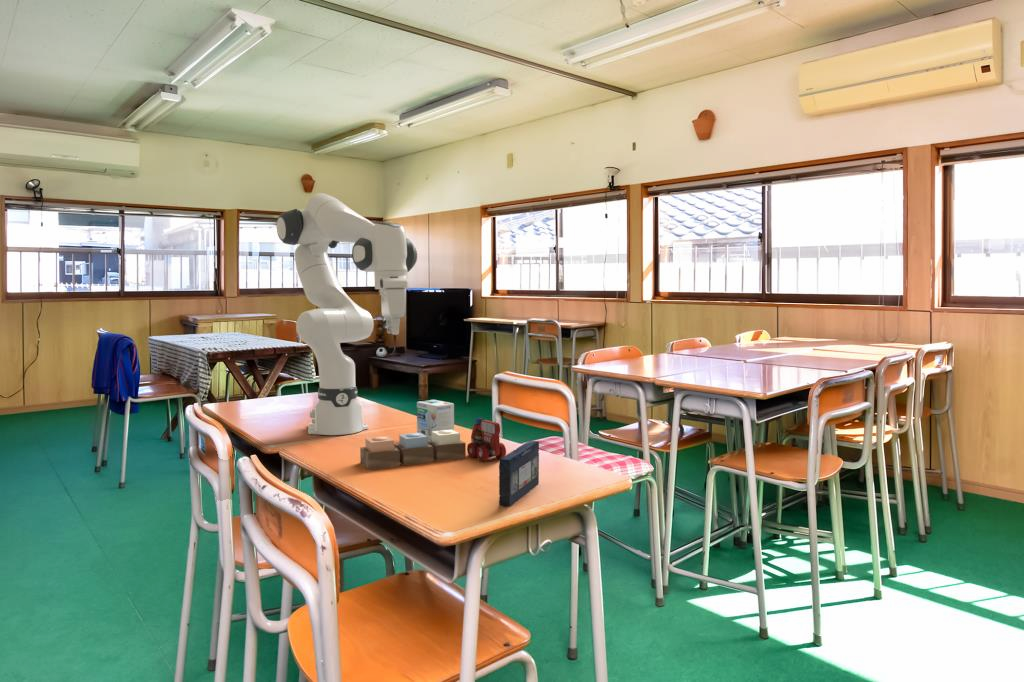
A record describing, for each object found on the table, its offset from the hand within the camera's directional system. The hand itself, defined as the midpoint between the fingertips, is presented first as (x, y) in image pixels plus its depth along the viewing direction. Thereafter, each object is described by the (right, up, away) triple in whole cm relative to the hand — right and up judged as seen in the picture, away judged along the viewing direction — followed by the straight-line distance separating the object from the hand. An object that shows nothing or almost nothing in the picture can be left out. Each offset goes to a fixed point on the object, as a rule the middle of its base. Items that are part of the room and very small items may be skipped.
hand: (393, 334), depth 184 cm
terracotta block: (-2, -31, -10) cm, 32 cm away
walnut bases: (+6, -33, -6) cm, 34 cm away
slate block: (+6, -31, -6) cm, 32 cm away
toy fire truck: (+25, -33, -3) cm, 42 cm away
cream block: (+14, -30, -2) cm, 34 cm away
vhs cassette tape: (+34, -35, -36) cm, 61 cm away
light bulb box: (+9, -31, +23) cm, 40 cm away
